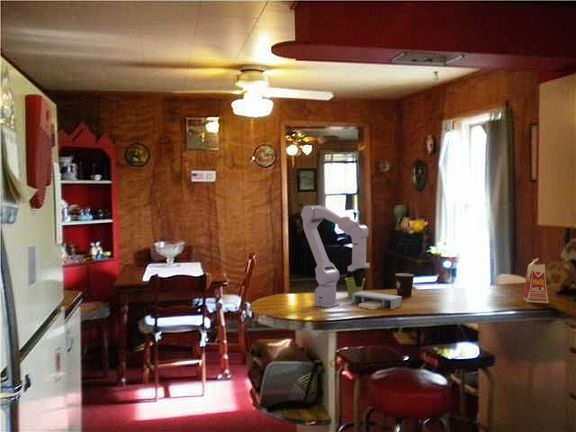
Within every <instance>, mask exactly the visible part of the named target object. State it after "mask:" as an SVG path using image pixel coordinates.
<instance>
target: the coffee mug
mask: <svg viewBox="0 0 576 432" xmlns="http://www.w3.org/2000/svg"><path fill="white" fill-rule="evenodd" d="M394 275H395V276H394V279H393V280H394V283H395V285H396V293H397V295H396V296H402V298H411V296H412V292H413V286H414V276H415V275H414V274H412V273H402V272H400V273H399V272H398V273H395V274H394Z"/></svg>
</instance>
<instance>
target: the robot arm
mask: <svg viewBox="0 0 576 432" xmlns="http://www.w3.org/2000/svg"><path fill="white" fill-rule="evenodd" d="M300 216H301V219H302V226H303V230H304V234H305V237H306V239H307V242H308V245H309V247H310V250H311V253H312V255H313V257H314V260H315V263H316V266H315V269H314V271H315V279H316V282H317V284H318V286H317V287H316V288H315V289H314V303H313V304H312V305H313V306H316V307H320V306H321V307H322V308H326V309H327V308H328V309H329V308H331V307H335V306H340V304H341V303H340V302H337V284H338V281H339V280H340V276H341V275H340V271H339V270H338V269H337V268H336V266H335V263H333V262H331V261H330V259H329V257H328V255H327V252H326V250H325V246H324V244H323V242H322V239H321V236H320V233H319V231H318V229H317V228H318V226H319V224H320V223H321V222H322V221H323V220H324V219H325V220H327V221H330V222H332V223H334V224H335V225H337V227H338V229H339V230H341V231H343V232H344V233H345V234H348V235H349V236H350V238H351V243H352V244H351V247H352V248H351V249H352V251H351V255H352V256H351V264H350V265H348V266H347V272H350V273H351V275H352V277H353V278H354V281H355V285H356V287H362V283H363V279H365V276H366V274H367V272H368V269H369V268H370V267H371V266H370V265H371V264H370V262H367V238H368V236H369V234H370V229H369V227H368V226H367V225H366V224H365V223H364V224H360V223H359V222H358V221H354V220H352V219H351V217H350V216H342V217H341V216H339V215H338V214H336V213H335V212H333V211H332V210H330V209H328V208H327V207H326V206H323V205H321V204H318V205H304V206H303V208H302V210H301V213H300Z"/></svg>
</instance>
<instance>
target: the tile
mask: <svg viewBox="0 0 576 432" xmlns="http://www.w3.org/2000/svg"><path fill="white" fill-rule="evenodd" d="M360 307H362V308H361V309H366V308H368V310H372V309H373V310H376V309H379V308H378V307H380V308H383V307H382V301H379V300H371V301H367V302H364V303H362V302H361V303H360V302H359V303H358V308H360Z"/></svg>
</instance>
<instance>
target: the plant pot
mask: <svg viewBox="0 0 576 432" xmlns="http://www.w3.org/2000/svg"><path fill="white" fill-rule="evenodd" d="M344 280H345V283H346V289H347V297H348V298H349V299H352V294H353V293H356V292H360V291H364V289H363V288H364V284H365V281H366V278H364V279H363V283H362V287H356V285H355V281H354V278H353V276H351V277H345V278H344Z"/></svg>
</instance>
